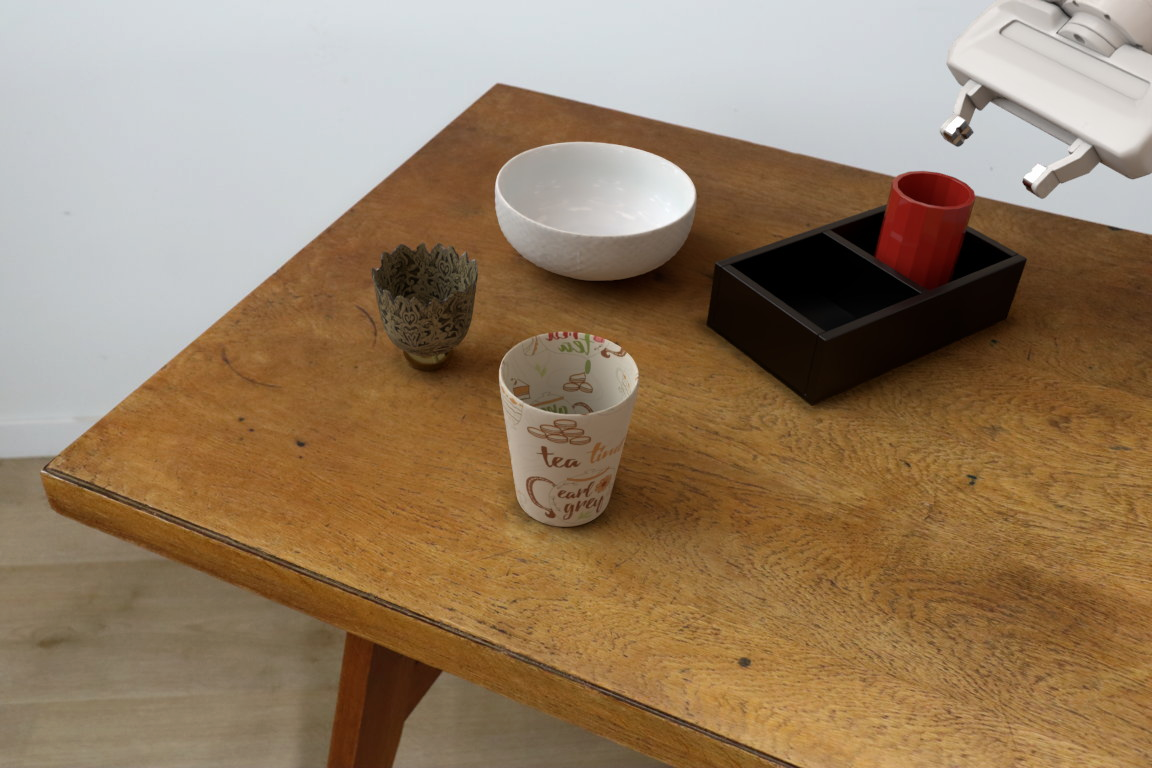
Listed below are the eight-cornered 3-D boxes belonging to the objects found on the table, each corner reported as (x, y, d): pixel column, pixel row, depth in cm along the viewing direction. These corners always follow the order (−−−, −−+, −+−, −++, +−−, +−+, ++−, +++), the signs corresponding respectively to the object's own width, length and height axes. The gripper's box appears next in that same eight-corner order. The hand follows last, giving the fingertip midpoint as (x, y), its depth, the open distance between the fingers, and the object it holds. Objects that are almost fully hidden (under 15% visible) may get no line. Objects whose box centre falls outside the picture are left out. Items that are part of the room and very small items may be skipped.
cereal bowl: (684, 321, 88) (694, 244, 84) (478, 301, 89) (477, 223, 85) (691, 218, 102) (700, 147, 97) (512, 201, 103) (512, 130, 98)
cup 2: (902, 271, 95) (930, 164, 89) (958, 305, 91) (992, 196, 85) (850, 290, 92) (876, 182, 86) (906, 327, 88) (937, 216, 82)
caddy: (897, 253, 98) (912, 194, 95) (1007, 319, 91) (1028, 258, 87) (706, 324, 88) (714, 261, 84) (811, 405, 80) (826, 340, 77)
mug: (481, 526, 69) (480, 400, 63) (535, 405, 79) (538, 286, 73) (612, 553, 68) (624, 427, 62) (650, 427, 77) (663, 307, 71)
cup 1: (457, 399, 79) (455, 305, 74) (362, 378, 80) (353, 285, 76) (492, 341, 85) (492, 251, 80) (402, 323, 86) (396, 233, 81)
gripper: (1249, 101, 78) (1101, 247, 81) (1040, 8, 93) (920, 134, 95) (1230, 47, 74) (1074, 203, 76) (1014, -42, 88) (890, 91, 91)
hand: (987, 164), depth 86 cm, fingers open, 8 cm apart
